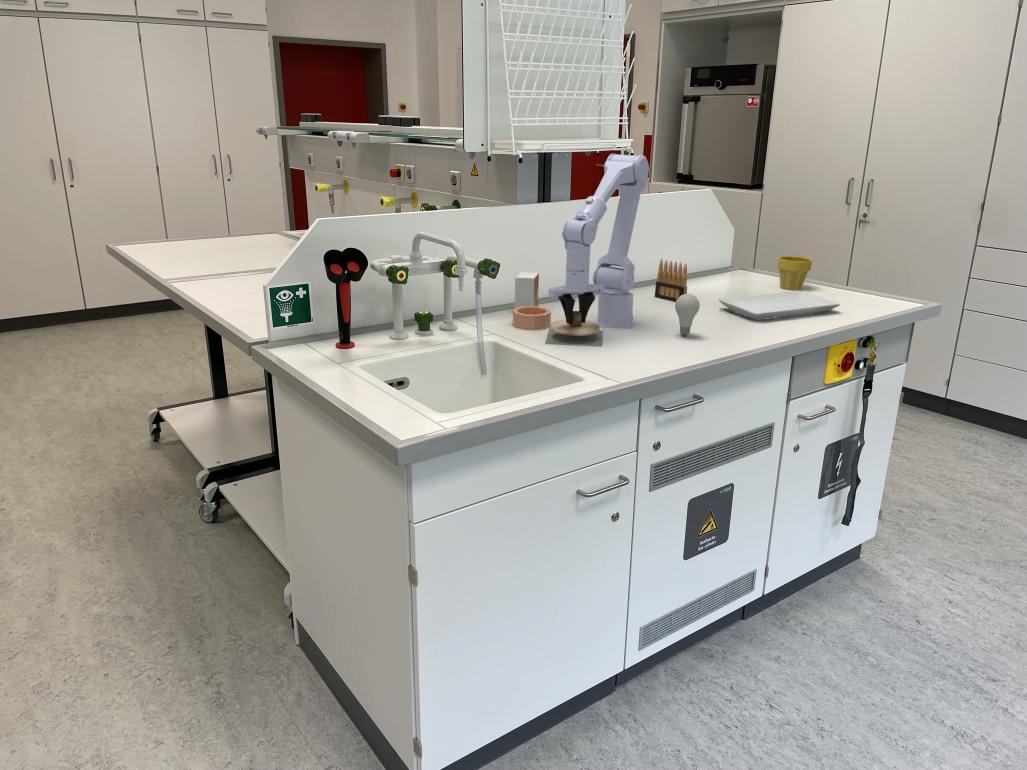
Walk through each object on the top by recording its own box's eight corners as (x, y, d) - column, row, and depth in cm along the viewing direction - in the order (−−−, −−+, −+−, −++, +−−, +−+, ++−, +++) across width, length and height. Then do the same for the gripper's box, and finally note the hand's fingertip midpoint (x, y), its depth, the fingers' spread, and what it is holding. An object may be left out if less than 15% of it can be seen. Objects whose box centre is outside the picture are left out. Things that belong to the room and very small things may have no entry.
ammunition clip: (686, 302, 230) (690, 263, 226) (682, 303, 228) (686, 264, 224) (657, 296, 237) (660, 258, 233) (654, 297, 236) (657, 258, 232)
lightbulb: (682, 340, 192) (686, 297, 189) (667, 334, 197) (671, 292, 194) (701, 337, 195) (705, 295, 191) (686, 331, 200) (689, 290, 196)
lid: (599, 323, 197) (600, 307, 196) (598, 336, 186) (599, 319, 184) (553, 321, 198) (553, 305, 197) (549, 334, 187) (550, 317, 186)
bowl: (551, 321, 208) (552, 307, 206) (548, 331, 198) (549, 316, 197) (515, 319, 209) (515, 305, 207) (510, 329, 199) (511, 314, 198)
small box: (533, 315, 214) (534, 278, 210) (514, 314, 215) (514, 277, 211) (538, 308, 221) (539, 272, 217) (519, 307, 222) (520, 271, 218)
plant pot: (812, 287, 251) (816, 258, 248) (801, 293, 244) (806, 262, 240) (781, 283, 257) (785, 254, 254) (770, 288, 250) (773, 258, 246)
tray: (840, 314, 220) (842, 302, 219) (754, 324, 208) (755, 312, 207) (798, 301, 235) (800, 290, 234) (715, 310, 223) (716, 298, 222)
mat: (602, 331, 199) (602, 330, 198) (602, 347, 186) (602, 346, 185) (549, 329, 200) (549, 328, 200) (544, 344, 187) (544, 343, 187)
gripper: (596, 264, 193) (593, 316, 198) (544, 268, 188) (542, 321, 192) (609, 269, 187) (606, 323, 191) (556, 273, 182) (554, 328, 186)
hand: (575, 322), depth 192 cm, fingers closed on lid, 3 cm apart
